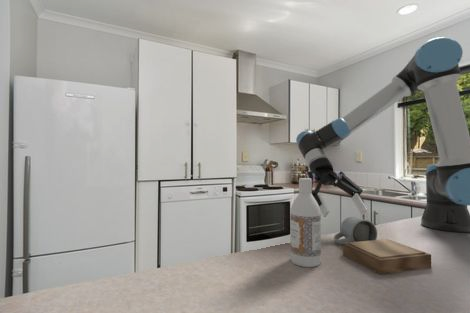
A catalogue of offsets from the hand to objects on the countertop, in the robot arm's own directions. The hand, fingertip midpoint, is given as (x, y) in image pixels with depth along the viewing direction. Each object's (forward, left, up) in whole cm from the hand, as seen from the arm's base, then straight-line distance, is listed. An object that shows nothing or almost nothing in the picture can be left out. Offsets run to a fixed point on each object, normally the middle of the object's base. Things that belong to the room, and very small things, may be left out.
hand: (346, 213), depth 78 cm
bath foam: (+21, +12, -8) cm, 26 cm away
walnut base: (+2, +16, -8) cm, 18 cm away
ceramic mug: (0, +3, -9) cm, 9 cm away
